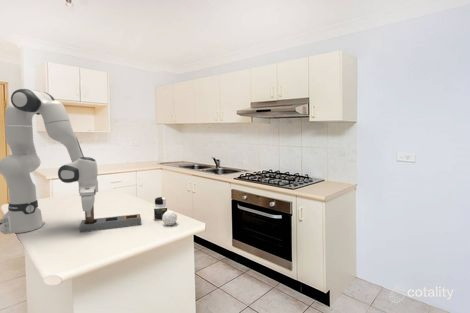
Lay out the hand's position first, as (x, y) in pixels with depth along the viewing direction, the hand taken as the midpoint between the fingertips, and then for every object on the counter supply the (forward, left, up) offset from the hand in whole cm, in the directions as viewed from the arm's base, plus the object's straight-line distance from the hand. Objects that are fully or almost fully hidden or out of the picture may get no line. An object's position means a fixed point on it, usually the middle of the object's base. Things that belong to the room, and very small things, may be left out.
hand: (89, 215), depth 148 cm
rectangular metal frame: (+7, +8, -7) cm, 13 cm away
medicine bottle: (+21, +30, -7) cm, 37 cm away
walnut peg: (0, 0, -6) cm, 6 cm away
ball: (+33, +24, -7) cm, 41 cm away
